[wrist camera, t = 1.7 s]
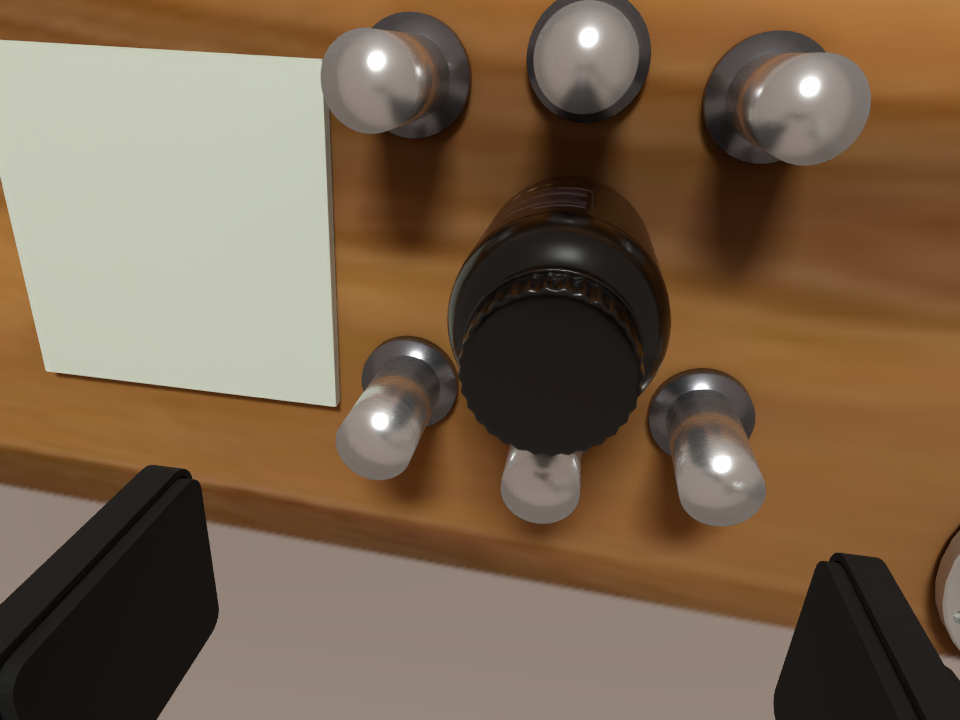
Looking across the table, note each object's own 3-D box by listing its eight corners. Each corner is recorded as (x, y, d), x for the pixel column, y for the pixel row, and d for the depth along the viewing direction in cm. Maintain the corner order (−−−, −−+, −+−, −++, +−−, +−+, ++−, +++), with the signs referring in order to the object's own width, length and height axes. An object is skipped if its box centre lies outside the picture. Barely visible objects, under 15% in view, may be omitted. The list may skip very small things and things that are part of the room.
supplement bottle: (674, 302, 28) (722, 455, 17) (522, 354, 30) (481, 520, 19) (618, 143, 26) (633, 204, 15) (458, 210, 28) (371, 307, 17)
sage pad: (327, 59, 27) (321, 59, 26) (340, 401, 33) (336, 406, 32) (-20, 38, 28) (-32, 38, 28) (54, 366, 35) (46, 371, 34)
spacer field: (854, 1, 23) (932, -15, 18) (736, 481, 31) (765, 570, 26) (357, -21, 25) (292, -42, 20) (366, 434, 33) (322, 507, 28)
